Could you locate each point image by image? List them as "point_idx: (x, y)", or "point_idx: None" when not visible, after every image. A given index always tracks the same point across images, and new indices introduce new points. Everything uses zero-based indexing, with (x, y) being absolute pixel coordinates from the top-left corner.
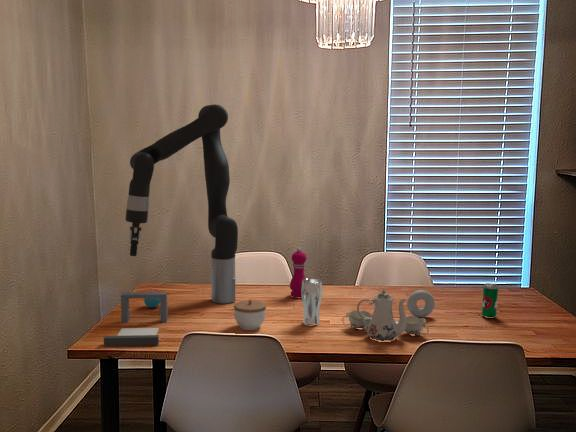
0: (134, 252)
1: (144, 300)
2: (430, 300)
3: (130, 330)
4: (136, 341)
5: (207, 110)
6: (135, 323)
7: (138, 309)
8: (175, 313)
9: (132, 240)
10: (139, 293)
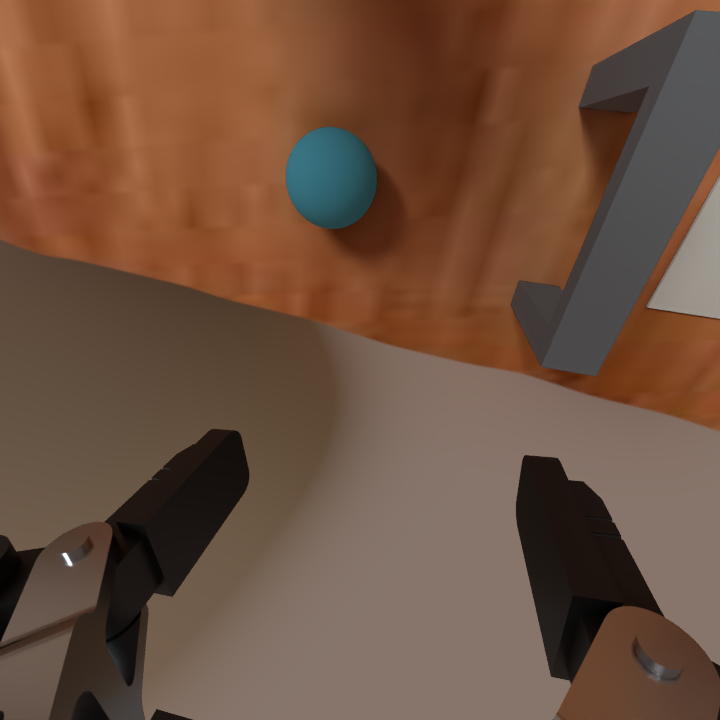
0: (604, 522)
1: (348, 225)
2: None
3: (705, 270)
4: None
5: None
6: None
7: (365, 247)
8: (484, 13)
9: (144, 606)
10: (612, 270)
